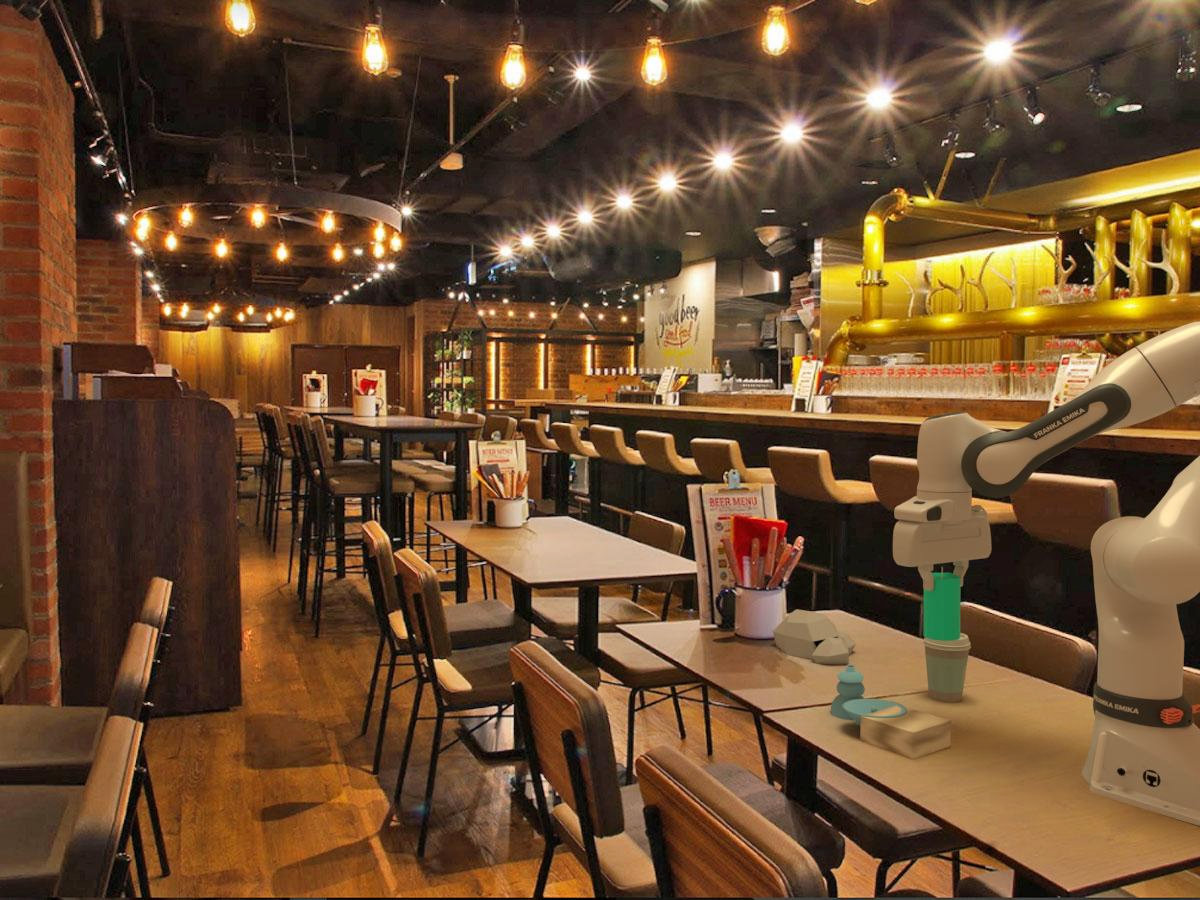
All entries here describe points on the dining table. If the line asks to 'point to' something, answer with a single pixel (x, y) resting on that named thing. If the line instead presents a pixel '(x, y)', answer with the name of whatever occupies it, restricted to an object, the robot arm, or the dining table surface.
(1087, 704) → the dining table surface
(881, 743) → the beech box
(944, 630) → the candle
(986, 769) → the dining table surface
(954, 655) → the coffee cup
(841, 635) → the rock
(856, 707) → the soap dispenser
